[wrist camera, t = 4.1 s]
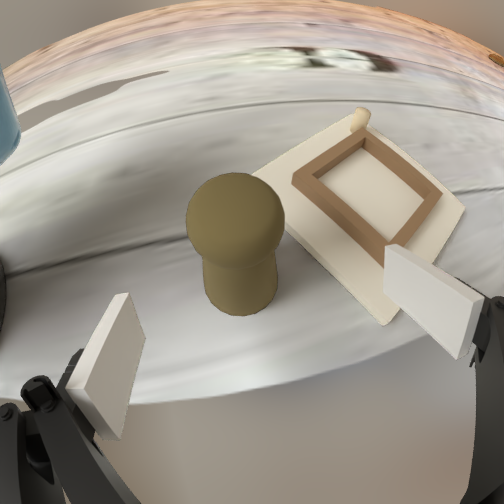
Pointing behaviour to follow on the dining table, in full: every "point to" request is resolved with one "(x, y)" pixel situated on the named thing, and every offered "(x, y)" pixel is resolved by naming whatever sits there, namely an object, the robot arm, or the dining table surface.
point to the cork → (237, 240)
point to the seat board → (360, 205)
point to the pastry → (497, 59)
